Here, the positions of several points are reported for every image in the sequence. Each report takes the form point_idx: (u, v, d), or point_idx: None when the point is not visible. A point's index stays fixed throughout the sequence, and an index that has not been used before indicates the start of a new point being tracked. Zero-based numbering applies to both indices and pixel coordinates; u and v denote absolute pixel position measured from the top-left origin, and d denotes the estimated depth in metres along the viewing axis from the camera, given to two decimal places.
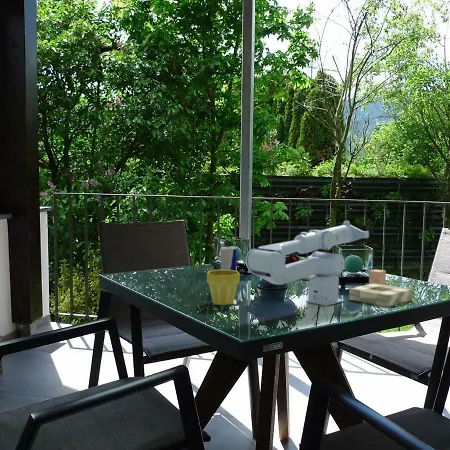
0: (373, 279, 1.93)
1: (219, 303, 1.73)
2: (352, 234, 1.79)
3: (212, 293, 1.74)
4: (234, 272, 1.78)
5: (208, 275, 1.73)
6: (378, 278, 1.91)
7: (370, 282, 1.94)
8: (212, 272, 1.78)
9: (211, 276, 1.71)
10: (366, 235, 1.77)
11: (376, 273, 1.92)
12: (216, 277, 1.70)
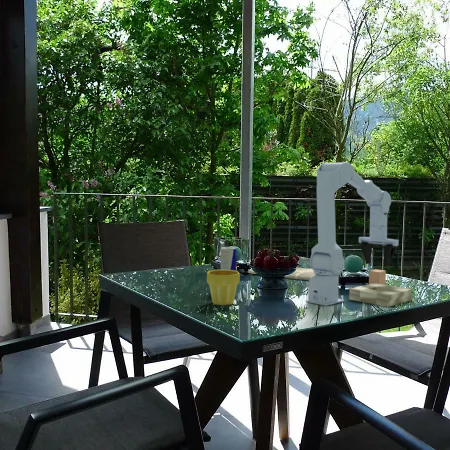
0: (373, 279, 1.93)
1: (219, 303, 1.73)
2: (385, 237, 1.91)
3: (212, 293, 1.74)
4: (234, 272, 1.78)
5: (208, 275, 1.73)
6: (378, 278, 1.91)
7: (370, 282, 1.94)
8: (212, 272, 1.78)
9: (211, 276, 1.71)
10: (396, 242, 1.87)
11: (376, 273, 1.92)
12: (216, 277, 1.70)
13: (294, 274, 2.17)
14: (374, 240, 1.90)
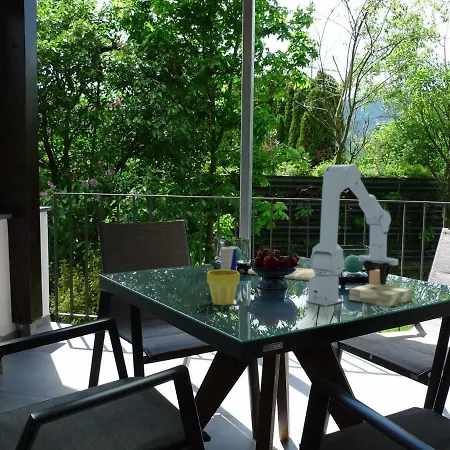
0: (373, 279, 1.93)
1: (219, 303, 1.73)
2: (385, 256, 1.91)
3: (212, 293, 1.74)
4: (234, 272, 1.78)
5: (208, 275, 1.73)
6: (378, 278, 1.91)
7: (370, 282, 1.94)
8: (212, 272, 1.78)
9: (211, 276, 1.71)
10: (396, 261, 1.88)
11: (376, 273, 1.92)
12: (216, 277, 1.70)
13: (293, 274, 2.17)
14: (374, 259, 1.91)
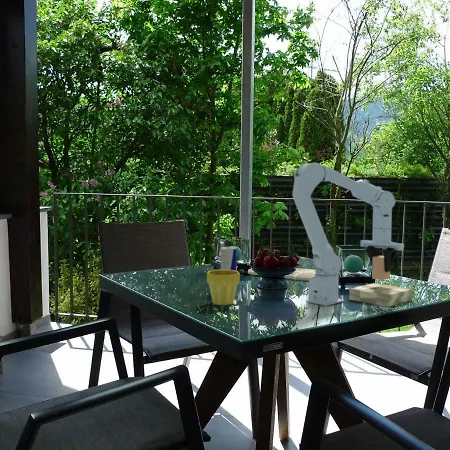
0: (376, 266, 1.78)
1: (219, 303, 1.73)
2: (389, 241, 1.76)
3: (212, 293, 1.74)
4: (234, 272, 1.78)
5: (208, 275, 1.73)
6: (382, 264, 1.76)
7: (373, 269, 1.79)
8: (212, 272, 1.78)
9: (211, 276, 1.71)
10: (401, 246, 1.73)
11: (380, 259, 1.77)
12: (216, 277, 1.70)
13: (293, 275, 2.16)
14: (377, 244, 1.76)
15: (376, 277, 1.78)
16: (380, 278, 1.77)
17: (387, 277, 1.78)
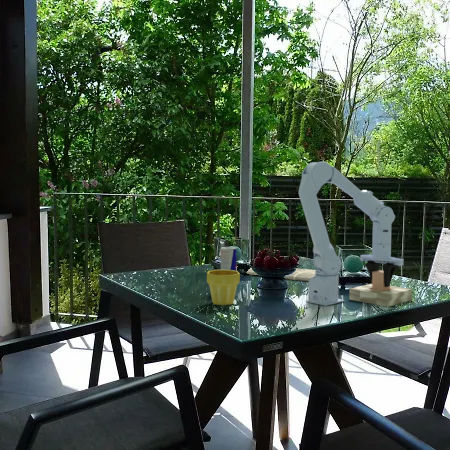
0: (376, 281, 1.78)
1: (219, 303, 1.73)
2: (389, 256, 1.76)
3: (212, 293, 1.74)
4: (234, 272, 1.78)
5: (208, 275, 1.73)
6: (382, 280, 1.77)
7: (373, 284, 1.79)
8: (212, 272, 1.78)
9: (211, 276, 1.71)
10: (401, 261, 1.73)
11: (380, 274, 1.77)
12: (216, 277, 1.70)
13: (292, 275, 2.16)
14: (377, 259, 1.76)
15: None
16: None
17: None
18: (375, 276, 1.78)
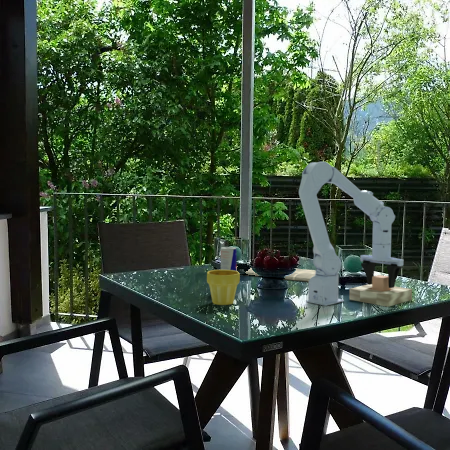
0: (376, 286, 1.78)
1: (219, 303, 1.73)
2: (389, 256, 1.76)
3: (212, 293, 1.74)
4: (234, 272, 1.78)
5: (208, 275, 1.73)
6: (382, 284, 1.77)
7: (373, 289, 1.79)
8: (212, 272, 1.78)
9: (211, 276, 1.71)
10: (401, 261, 1.73)
11: (380, 279, 1.77)
12: (216, 277, 1.70)
13: (291, 275, 2.15)
14: (377, 259, 1.76)
15: None
16: None
17: None
18: (375, 281, 1.78)
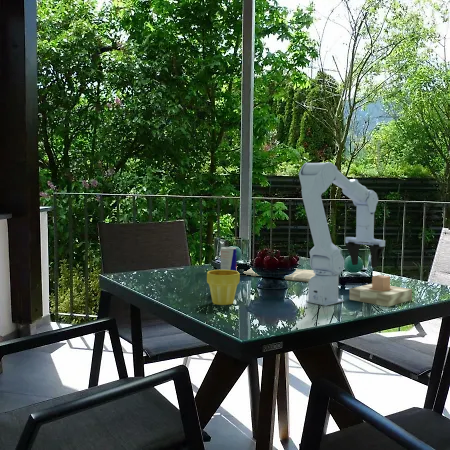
0: (376, 286, 1.78)
1: (219, 303, 1.73)
2: (372, 237, 1.85)
3: (212, 293, 1.74)
4: (234, 272, 1.78)
5: (208, 275, 1.73)
6: (382, 284, 1.77)
7: (373, 289, 1.79)
8: (212, 272, 1.78)
9: (211, 276, 1.71)
10: (383, 242, 1.82)
11: (380, 279, 1.77)
12: (216, 277, 1.70)
13: (291, 275, 2.15)
14: (360, 240, 1.85)
15: None
16: None
17: None
18: (375, 281, 1.78)
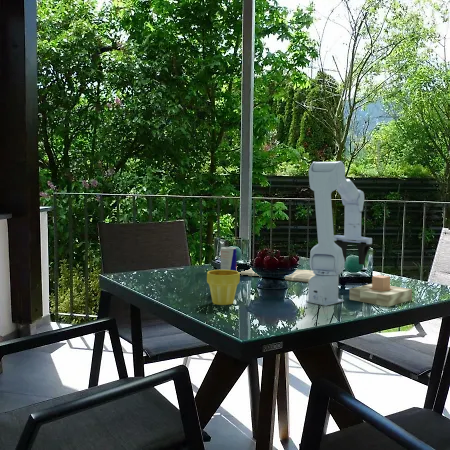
0: (376, 286, 1.78)
1: (219, 303, 1.73)
2: (359, 235, 1.92)
3: (212, 293, 1.74)
4: (234, 272, 1.78)
5: (208, 275, 1.73)
6: (382, 284, 1.77)
7: (373, 289, 1.79)
8: (212, 272, 1.78)
9: (211, 276, 1.71)
10: (370, 240, 1.89)
11: (380, 279, 1.77)
12: (216, 277, 1.70)
13: (290, 276, 2.14)
14: (348, 238, 1.92)
15: None
16: None
17: None
18: (375, 281, 1.78)
